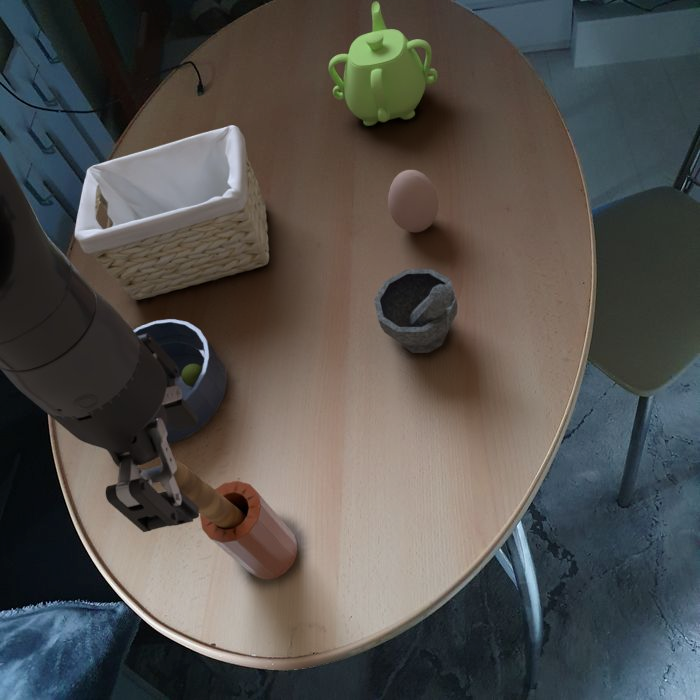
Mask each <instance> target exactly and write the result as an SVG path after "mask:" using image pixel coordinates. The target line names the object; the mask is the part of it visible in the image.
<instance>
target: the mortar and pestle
mask: <svg viewBox="0 0 700 700" xmlns="http://www.w3.org/2000/svg"><path fill="white" fill-rule="evenodd" d="M373 301H374V307H375V311H376V316H377V320H378V324H379V326H380V328H381V330H382V331H383V332H384V333H385V334H386V335H387V336H389V337H391V338H392V339H393V340H395V341H397V342H398V343H400V345H401V347H403V348H405V349H406V350H408V351H409V352H410V353H413V354H429V353H431V352H432V351H434V350H436V349H438V348H439V347H442V346H443V344H444V341H445V339H446V338H447V335H448V332H449V330H450V328H451V326H452V325H453V322H454V320H455V319H456V316H457V314H458V301H457V296H456V293H455V290H454V287H453V284H452V281H451V279H450V278H448V277H446V276H444V275H442V274H440V273H439V272H437V271H435V270H434V269H432V268H417V269H415V268H414V269H413V268H411V269H405V270H403V271H401V272H399V273H398V274H396V275H393V276H392V277H390V278H388V279H386V280H385V281H383V284H382V285H381V287H380V289H379V291H378V293H377V294H376V296H375V298H374V300H373Z"/></svg>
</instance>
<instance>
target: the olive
mask: <svg viewBox="0 0 700 700" xmlns="http://www.w3.org/2000/svg"><path fill="white" fill-rule="evenodd" d="M201 372H202V367H201V366H200V365H198V364H189V365H187V366H186V367H185V368H184V369H183V371H182V380H183V382H184V383H185V384H186V385H188V386H191V387H194V385H195V383H196V381H197V379H198V378H199V376H200V374H201Z"/></svg>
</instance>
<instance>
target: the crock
mask: <svg viewBox="0 0 700 700" xmlns="http://www.w3.org/2000/svg"><path fill="white" fill-rule="evenodd" d="M214 489H215V490H216V491H217V492H218V493H220V494H221V495H222V496H223V497H224V498H226V499H227V500H228V501H229V502H231V503H232V504H233V505H234V506H236V507H237V508H238V509H239V510H241V511H242V512H243V513H244V514H246V515H247V517H246V518H245V520H244V521H243V522H242V524H240V525H239V526H237V527H236V528H234V529H228V530H224V529H221V528H220V527H218V526H217V525H215V524H214V523H213V522H211V521H210V520H208V519H207V518H206V517H204V516H203V515H201V514H200V513H199V516H200V523H201V529H202V531H203V532H204V533H205V534H206V536H207V537H208V538H209V539H210V540H211V541H212V542H214V544H216V545H217V546H218V547H219V548H220V549H222V550H223V551H224V552H225V553H226V554H228V555H229V556H230V557H231V558H232V559H233V560H234V561H235V562H236V563H238V564H239V565H240V566H241V567H243V568H244V569H245V570H246V571H247V572H248V573H250V574H251V575H253V576H254V577H256V578H259V579H260V580H261V579H262V580H272V579H277V578H279V577H281V576H282V575H284V574H285V573H287V572H288V571H289V570H290V568H291V567H292V566H293V564H294V563H295V561H296V558H297V554H298V542H297V538H296V537H295V534H294V532H293V531H292V530H291V529H290V528H289V527H288V525H287V524H286V523H285V522H284V521H283V520H282V519H281V517H280V516H279V515H278V514H277V513H276V512H275V510H274V509H273V508H272V507H271V506H270V505H269V503H267V501H266V500H265V498H263V497H262V496H261V495H260V493H259V492H258V491H257V490H256V489H255V488H254V487H253V486H252V484H250V483H247V482H245V481H241V480H234V481H228V482H224V483H222V484H221V485H219V486H217V487H216V488H214Z"/></svg>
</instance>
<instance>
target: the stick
mask: <svg viewBox="0 0 700 700" xmlns="http://www.w3.org/2000/svg"><path fill="white" fill-rule="evenodd" d="M175 462H176V465H177V470H176V471H175V473H174V478H175V480H176V483H177V486H178V488H179V491H182V492H183V493H184V494H185V495H186V496H187V497H188V498H189V499H190V500H192V501H193V502H194V503H195V504H196V505H197V506H198V507H199V515H200V514H201V515H203V516H204V517H206V518H207V519H208V520H210V521H211V522H213V523H214V524H215V525H217V526H218V527H220V528H221V529H224V530H228V529H234V528H236V527H237V526H239V525H240V524H242V522H243V521H244V520H245V518H246V517H247V515H246V514H244V513H243V512H242V511H241V510H239V509H238V508H237V507H236V506H234V505H233V504H232V503H231V502H229V501H228V500H227V499H226V498H224V497H223V496H222V495H221V494H220V493H218V492H217V491H216V490H215V489H216V488H214V487H212V486H211V485H209V484H208V483H207V482H206V480H203V478H201V477H200V476H199V475H197V474H196V473H195V472H193V470H191V469H190V468H189V467H187V465H185V464H184V463H183V462H180V461H176V460H175ZM159 485H160V486H161V487H162V488H164V485H163V483H161V482H159Z"/></svg>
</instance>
